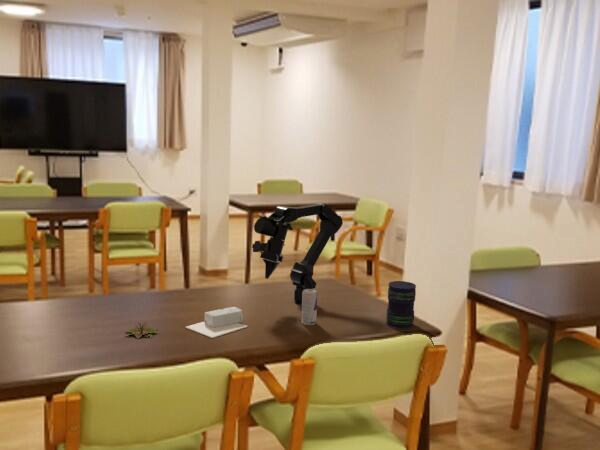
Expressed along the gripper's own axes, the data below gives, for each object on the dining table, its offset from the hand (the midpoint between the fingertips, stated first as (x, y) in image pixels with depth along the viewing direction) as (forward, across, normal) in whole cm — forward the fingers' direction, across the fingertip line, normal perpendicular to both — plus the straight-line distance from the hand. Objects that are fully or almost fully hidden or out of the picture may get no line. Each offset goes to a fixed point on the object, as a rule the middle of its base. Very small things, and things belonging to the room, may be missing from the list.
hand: (266, 278), depth 228 cm
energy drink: (+11, +9, +20) cm, 25 cm away
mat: (+20, +20, -9) cm, 30 cm away
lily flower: (+27, +30, -31) cm, 51 cm away
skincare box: (+14, +12, -4) cm, 19 cm away
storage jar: (+3, +4, +52) cm, 52 cm away
